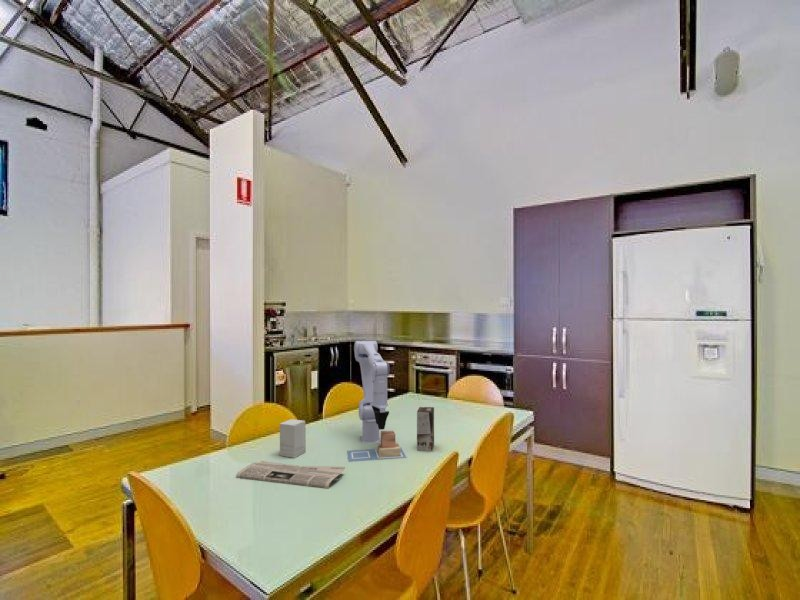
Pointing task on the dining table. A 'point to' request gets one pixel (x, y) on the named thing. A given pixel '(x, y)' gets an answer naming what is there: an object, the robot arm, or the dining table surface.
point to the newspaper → (291, 474)
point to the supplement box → (292, 438)
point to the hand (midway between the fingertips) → (380, 426)
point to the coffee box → (425, 429)
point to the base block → (389, 451)
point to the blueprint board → (368, 455)
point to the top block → (387, 439)
